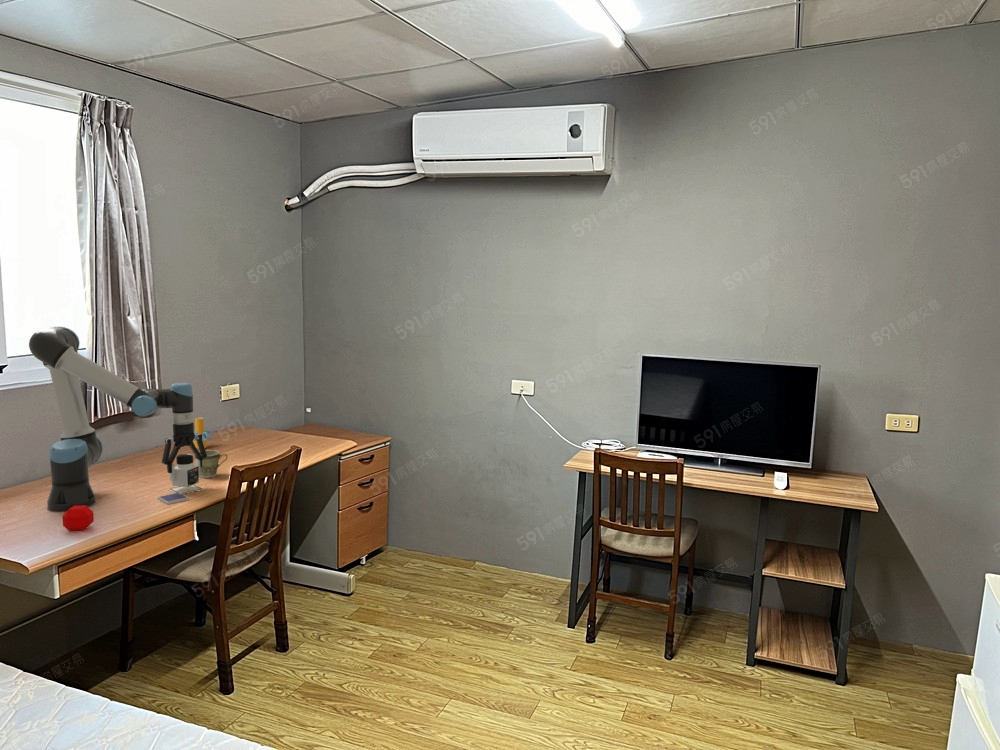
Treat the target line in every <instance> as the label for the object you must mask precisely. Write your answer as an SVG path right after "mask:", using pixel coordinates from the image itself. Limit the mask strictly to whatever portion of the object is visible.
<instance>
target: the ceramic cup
mask: <svg viewBox="0 0 1000 750" xmlns="http://www.w3.org/2000/svg"><path fill="white" fill-rule="evenodd" d="M205 451H206V454H207V457H206V458H203V460H202V467H201V468H200V473H201V476H199V478H200V477H202V479H212V478H215V477H214V476H216V477H217V473H218V469H219V467H220V466H221V465H223V463H224V462H225V461H227V460H228V455H227V454H226V453H220V452H221V451H218V450H211V449H210V450H205ZM199 453H200V451H199ZM200 455H201V453H200ZM223 456H224V457H225V459H224V460H222V461H221V463H220V464H219V461H220V460H221V458H222V457H223ZM193 457H194V460H195V459H197V457H196V456H195V454H194V453H193ZM209 477H210V478H209ZM211 477H212V478H211Z"/></svg>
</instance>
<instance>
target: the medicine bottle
mask: <svg viewBox="0 0 1000 750" xmlns="http://www.w3.org/2000/svg"><path fill="white" fill-rule="evenodd" d="M175 459H176V466H174V469H175V481H174V482H173V481H171V483H172V486H173V487H179V486H180V487H190V486H192V485H196V484H198V483H199V482H200V477H199V469H198V465H195V464H194V454H191V453H181V454H178V455H176V457H175Z"/></svg>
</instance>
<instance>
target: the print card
mask: <svg viewBox="0 0 1000 750" xmlns="http://www.w3.org/2000/svg"><path fill="white" fill-rule="evenodd" d="M203 489H204V488H203V487H200V486H199V485H196V484H194V485H192V486H190V487H180V486H173V487H169V488H167V491H169V492H172V494H175V493H180V494H183V495H186V494H185V493H188V494H190V492H192V493H195V492H194V491H197V492H199V491H198V490H202V491H204V490H203Z"/></svg>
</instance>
